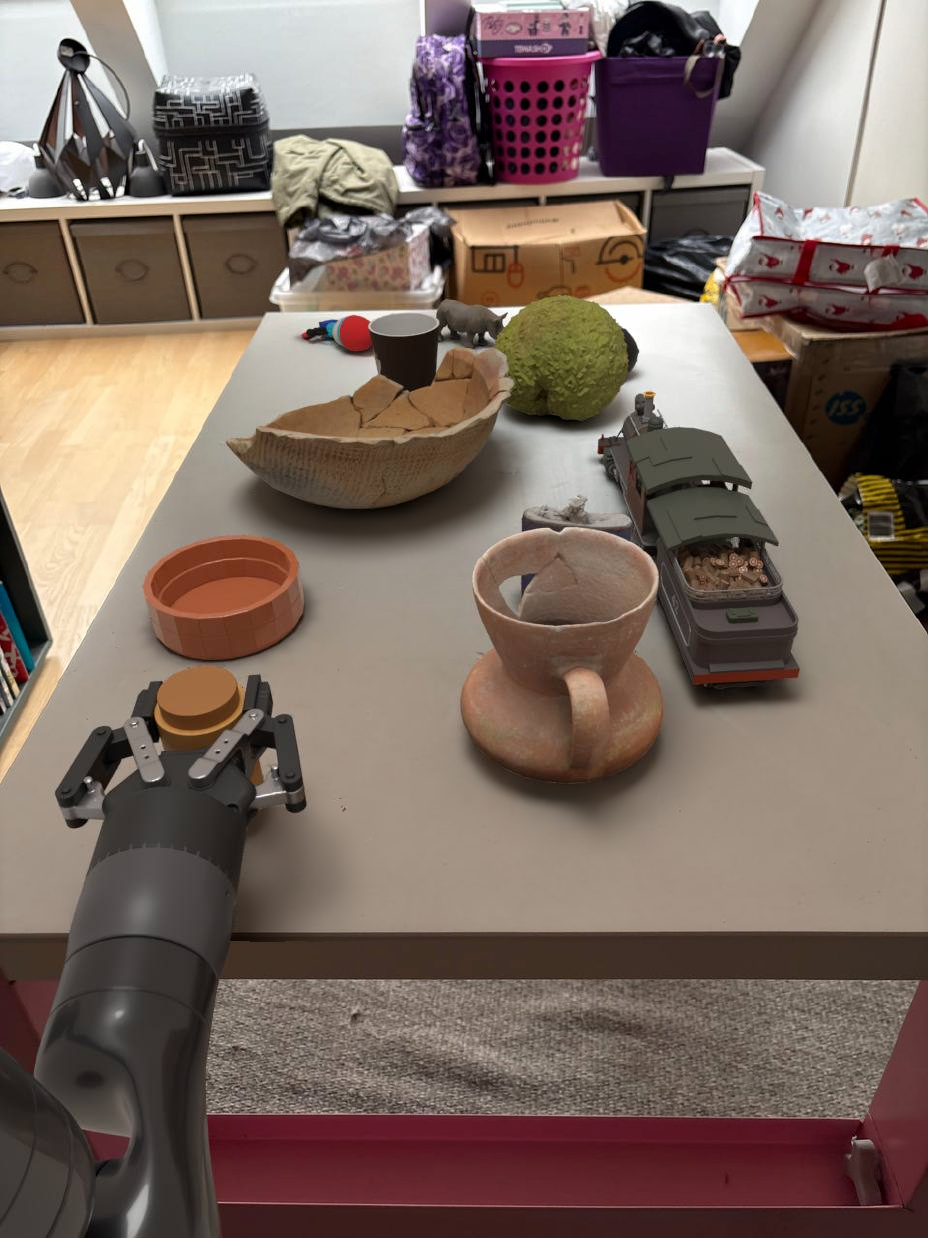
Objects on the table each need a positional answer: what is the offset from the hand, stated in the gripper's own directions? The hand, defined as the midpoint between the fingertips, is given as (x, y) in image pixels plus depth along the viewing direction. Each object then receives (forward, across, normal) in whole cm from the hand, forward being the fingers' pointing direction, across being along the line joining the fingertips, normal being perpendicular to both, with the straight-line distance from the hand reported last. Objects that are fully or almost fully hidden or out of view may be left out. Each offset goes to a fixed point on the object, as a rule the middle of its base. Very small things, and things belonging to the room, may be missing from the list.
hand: (208, 688), depth 62 cm
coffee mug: (+68, -14, +10) cm, 70 cm away
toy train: (+27, -38, +9) cm, 48 cm away
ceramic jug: (+3, -24, +9) cm, 26 cm away
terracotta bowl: (+21, +3, +9) cm, 23 cm away
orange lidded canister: (-3, 0, +7) cm, 8 cm away
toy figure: (+89, -5, +10) cm, 90 cm away
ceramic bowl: (+44, -10, +9) cm, 47 cm away
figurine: (+77, -40, +9) cm, 88 cm away
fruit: (+61, -32, +9) cm, 69 cm away
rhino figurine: (+86, -24, +10) cm, 89 cm away
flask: (+19, -27, +9) cm, 35 cm away
